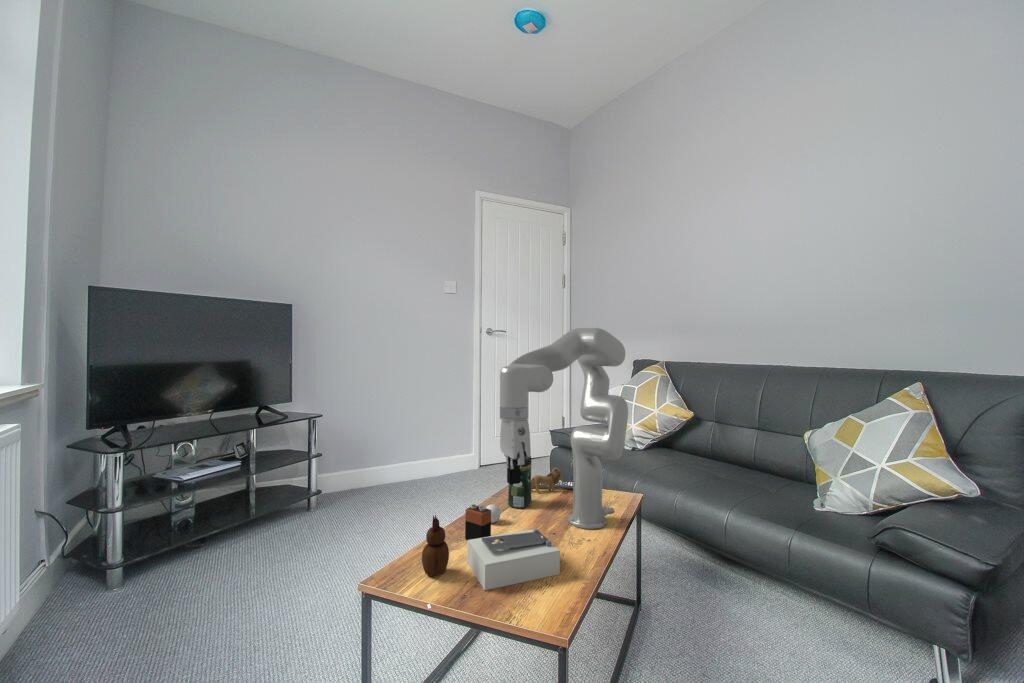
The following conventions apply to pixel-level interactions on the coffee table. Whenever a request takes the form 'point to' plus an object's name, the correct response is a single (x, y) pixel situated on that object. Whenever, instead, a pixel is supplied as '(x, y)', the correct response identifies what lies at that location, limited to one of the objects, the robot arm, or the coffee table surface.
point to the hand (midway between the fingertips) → (513, 482)
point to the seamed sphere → (494, 512)
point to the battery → (477, 522)
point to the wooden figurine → (435, 550)
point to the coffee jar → (521, 488)
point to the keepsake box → (512, 562)
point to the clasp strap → (515, 540)
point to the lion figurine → (547, 479)
